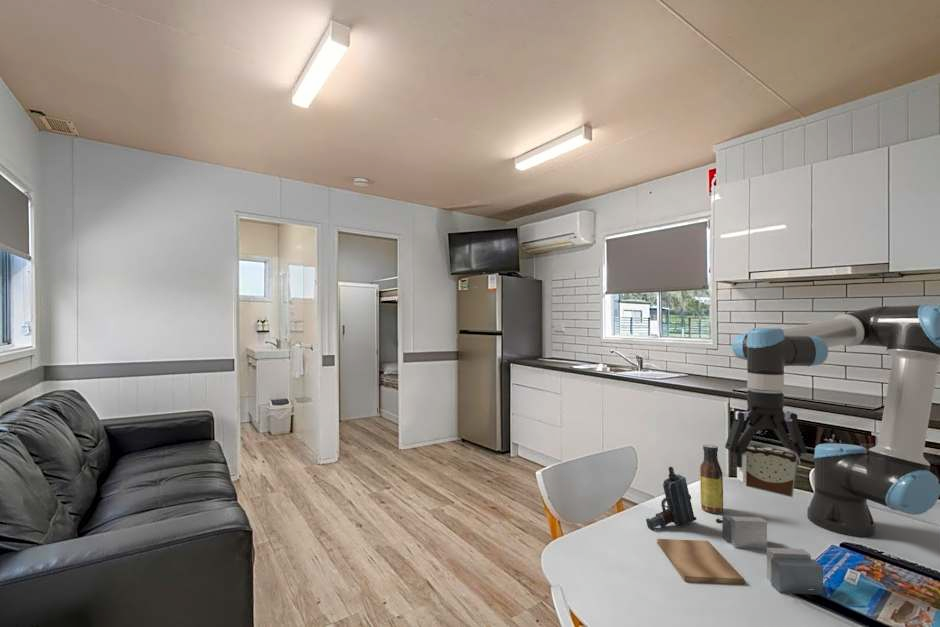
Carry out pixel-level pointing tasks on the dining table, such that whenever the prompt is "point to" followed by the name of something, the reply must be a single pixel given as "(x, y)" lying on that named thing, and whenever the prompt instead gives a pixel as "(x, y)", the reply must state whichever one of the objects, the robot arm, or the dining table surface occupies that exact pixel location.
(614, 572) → the dining table surface
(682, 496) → the gun
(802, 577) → the grey blocks
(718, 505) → the sauce bottle
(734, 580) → the light brown board
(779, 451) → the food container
